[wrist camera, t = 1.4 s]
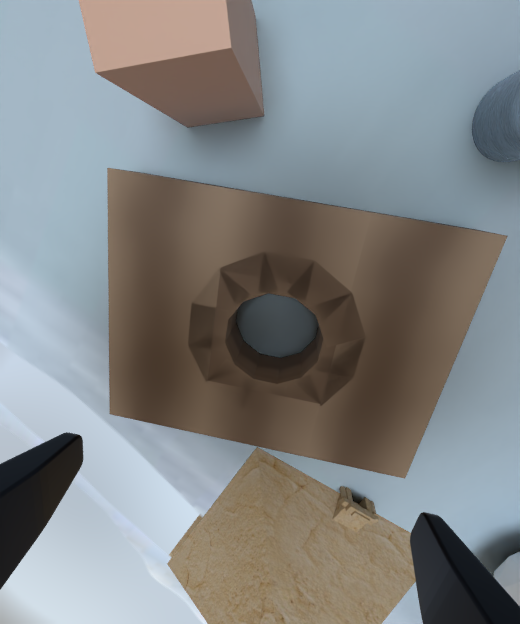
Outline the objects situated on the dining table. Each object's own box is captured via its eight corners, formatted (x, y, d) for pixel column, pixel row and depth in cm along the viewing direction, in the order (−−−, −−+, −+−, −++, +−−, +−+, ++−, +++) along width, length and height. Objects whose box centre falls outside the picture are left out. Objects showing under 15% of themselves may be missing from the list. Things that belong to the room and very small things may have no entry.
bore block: (473, 229, 17) (507, 235, 14) (391, 441, 22) (404, 478, 19) (138, 172, 18) (107, 167, 15) (133, 387, 23) (109, 414, 20)
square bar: (255, 16, 15) (208, -165, 7) (264, 116, 16) (231, 47, 9) (173, 32, 15) (51, -120, 8) (187, 127, 17) (95, 72, 9)
